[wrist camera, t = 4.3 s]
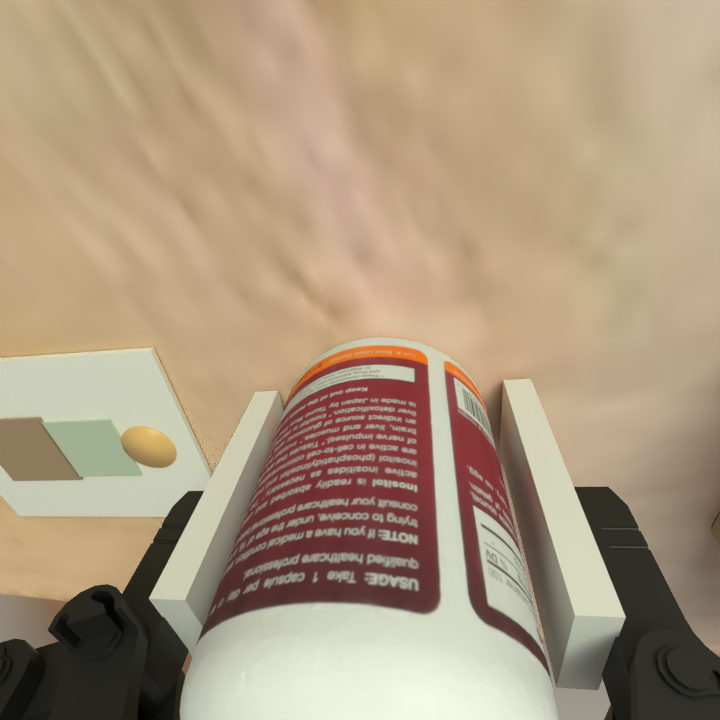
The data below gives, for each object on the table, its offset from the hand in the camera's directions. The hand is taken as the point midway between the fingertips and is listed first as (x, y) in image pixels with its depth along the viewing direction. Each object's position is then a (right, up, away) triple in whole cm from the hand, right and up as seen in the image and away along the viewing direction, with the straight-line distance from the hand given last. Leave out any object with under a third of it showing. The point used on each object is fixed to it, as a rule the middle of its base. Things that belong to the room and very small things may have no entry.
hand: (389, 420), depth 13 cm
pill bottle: (0, 0, 0) cm, 1 cm away
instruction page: (-12, -1, +3) cm, 12 cm away
